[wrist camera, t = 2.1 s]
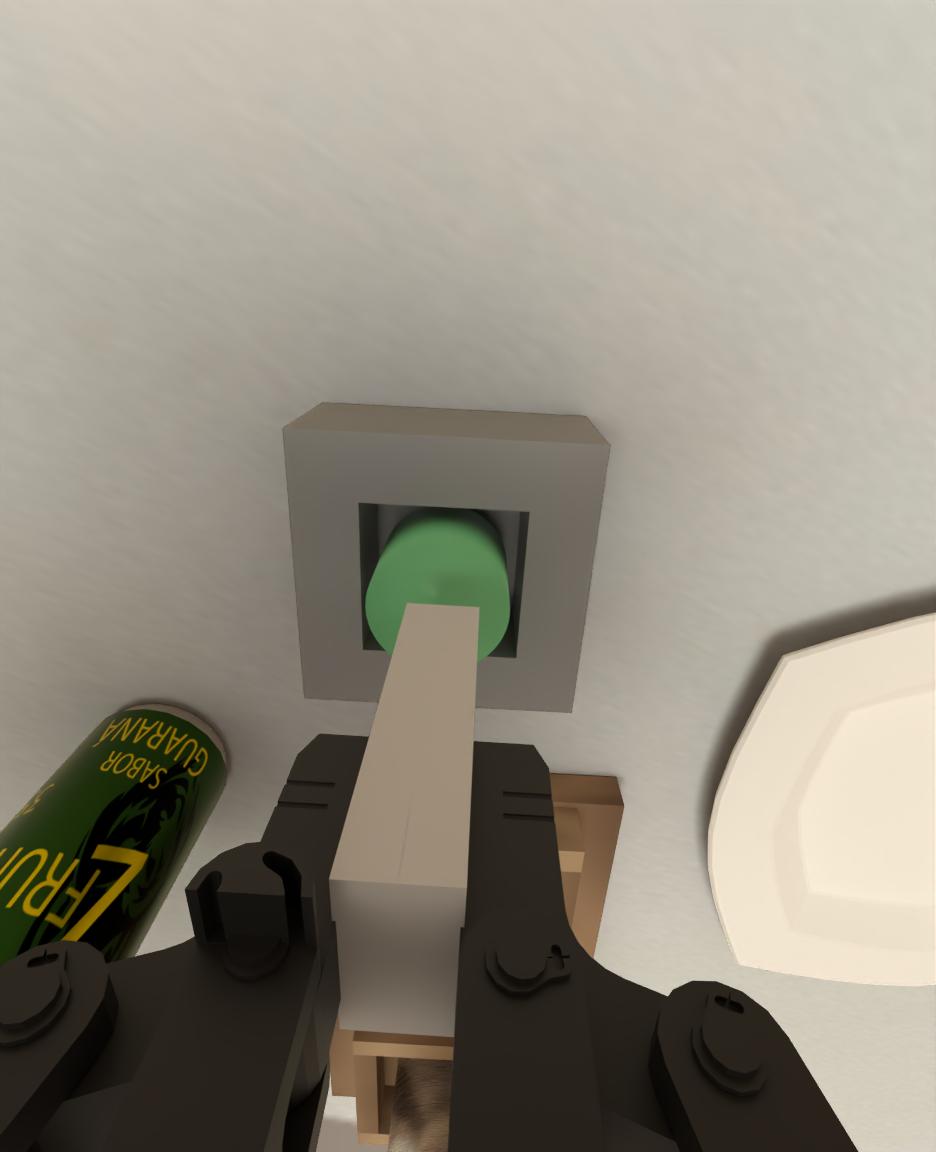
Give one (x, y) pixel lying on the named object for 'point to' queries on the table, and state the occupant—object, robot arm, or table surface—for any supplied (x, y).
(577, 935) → the wooden tray
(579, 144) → the table surface
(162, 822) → the green drink can
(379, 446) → the grey square socket block
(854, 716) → the plate
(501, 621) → the button
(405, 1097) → the cylinder
